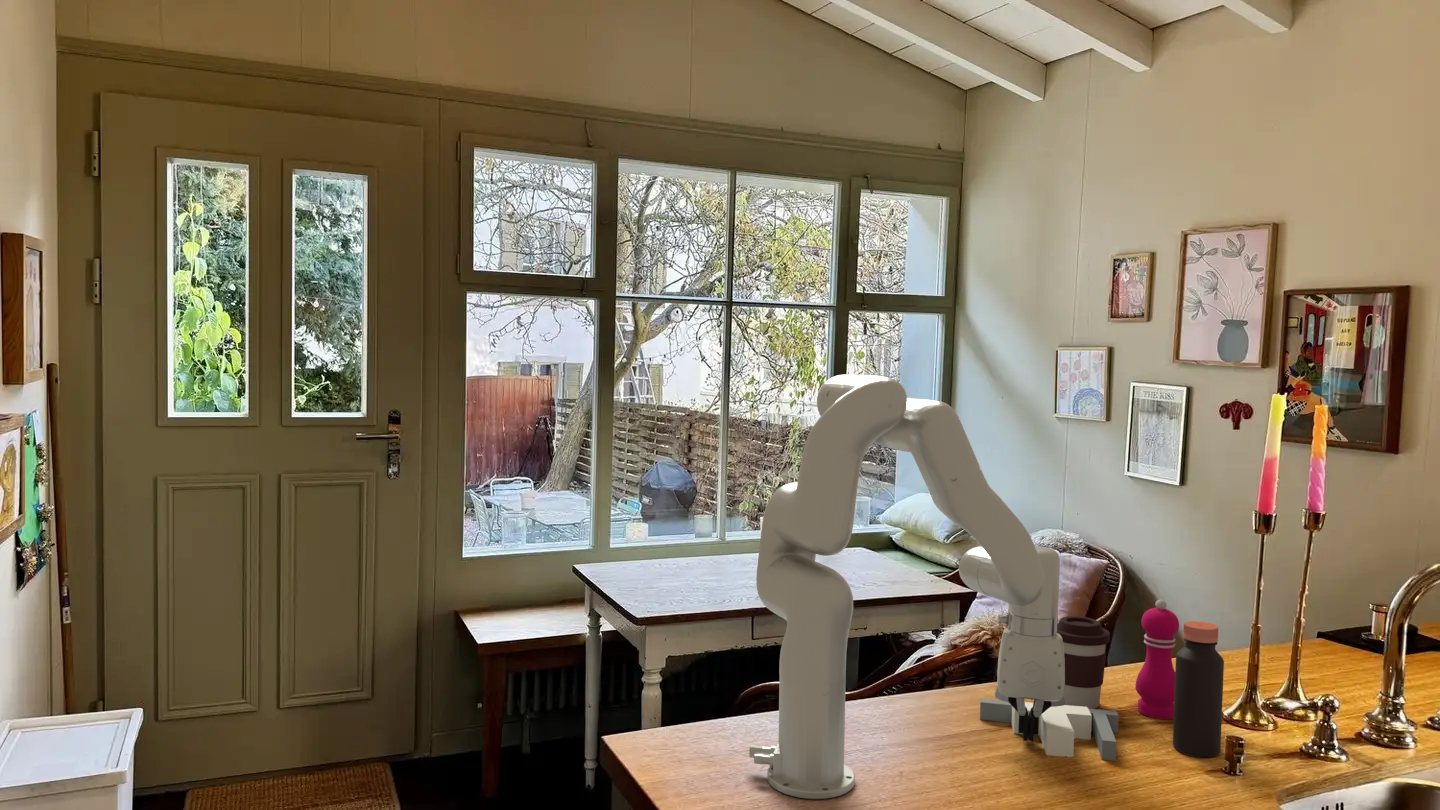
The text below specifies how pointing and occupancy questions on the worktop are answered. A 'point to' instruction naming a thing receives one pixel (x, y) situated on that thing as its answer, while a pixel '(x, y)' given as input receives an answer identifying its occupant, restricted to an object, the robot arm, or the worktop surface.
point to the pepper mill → (1158, 663)
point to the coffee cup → (1083, 659)
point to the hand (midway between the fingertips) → (1028, 737)
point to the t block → (1059, 727)
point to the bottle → (1198, 692)
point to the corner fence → (1101, 724)
